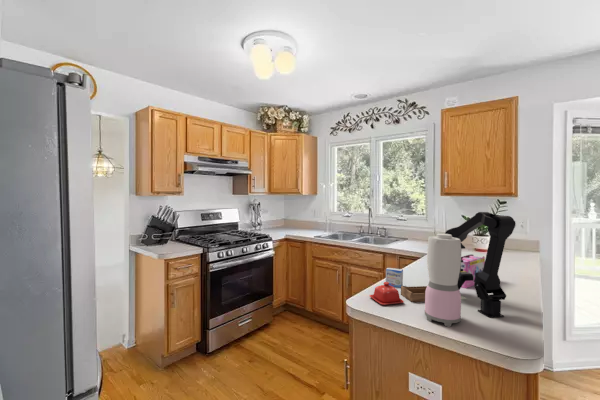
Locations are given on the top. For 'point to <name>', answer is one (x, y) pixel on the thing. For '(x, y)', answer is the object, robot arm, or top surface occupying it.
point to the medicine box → (394, 277)
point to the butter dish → (386, 294)
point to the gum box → (472, 267)
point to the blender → (443, 279)
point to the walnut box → (414, 293)
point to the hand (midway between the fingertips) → (453, 290)
